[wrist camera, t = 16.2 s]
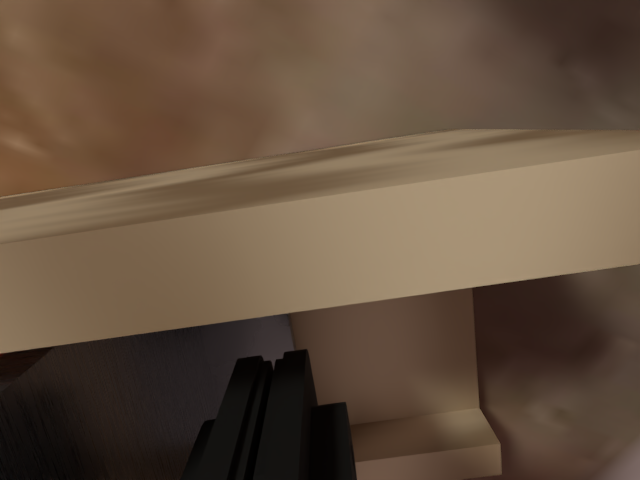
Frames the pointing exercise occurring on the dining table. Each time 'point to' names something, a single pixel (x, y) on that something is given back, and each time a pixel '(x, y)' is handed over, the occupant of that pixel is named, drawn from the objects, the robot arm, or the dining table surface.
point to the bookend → (123, 399)
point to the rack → (335, 265)
